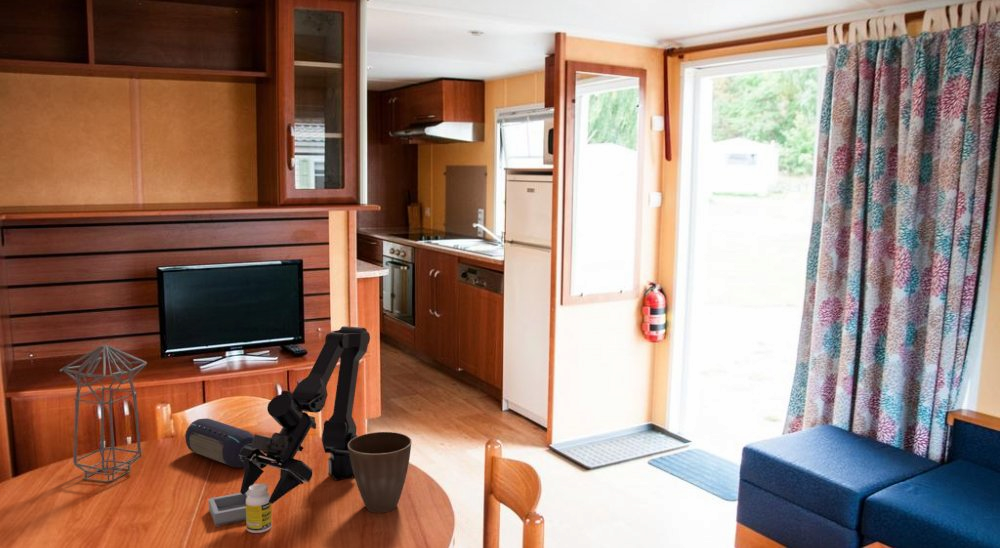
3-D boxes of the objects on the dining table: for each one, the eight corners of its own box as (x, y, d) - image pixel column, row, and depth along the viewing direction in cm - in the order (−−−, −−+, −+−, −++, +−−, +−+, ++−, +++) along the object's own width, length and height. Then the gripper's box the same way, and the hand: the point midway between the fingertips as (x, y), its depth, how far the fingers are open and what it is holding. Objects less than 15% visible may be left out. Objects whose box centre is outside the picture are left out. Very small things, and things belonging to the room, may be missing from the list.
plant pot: (360, 525, 176) (358, 458, 174) (341, 500, 189) (340, 437, 187) (421, 512, 183) (420, 447, 181) (399, 489, 196) (398, 428, 194)
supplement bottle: (264, 535, 171) (262, 492, 170) (242, 532, 172) (240, 490, 171) (276, 524, 177) (274, 483, 175) (254, 521, 178) (252, 480, 176)
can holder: (249, 502, 188) (249, 491, 187) (257, 518, 180) (256, 505, 179) (209, 510, 183) (208, 498, 183) (215, 526, 175) (214, 514, 175)
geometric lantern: (106, 461, 213) (101, 336, 209) (154, 469, 209) (151, 342, 205) (59, 483, 198) (53, 349, 194) (110, 491, 194) (106, 354, 190)
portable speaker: (179, 455, 219) (177, 420, 217) (211, 444, 227) (209, 411, 225) (234, 476, 204) (232, 439, 203) (265, 464, 212) (264, 429, 211)
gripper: (243, 412, 180) (205, 473, 172) (301, 426, 170) (264, 491, 163) (271, 435, 188) (235, 494, 180) (328, 450, 178) (293, 513, 170)
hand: (255, 498), depth 173 cm, fingers open, 9 cm apart
